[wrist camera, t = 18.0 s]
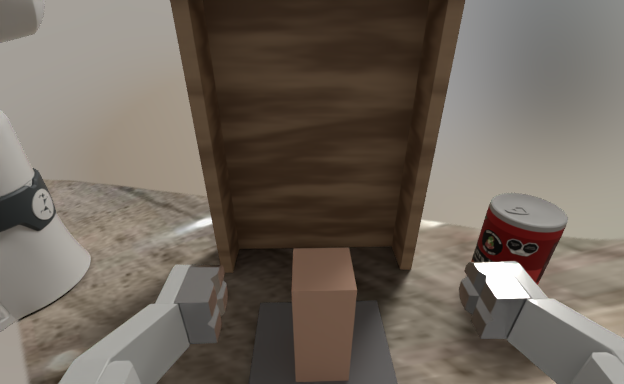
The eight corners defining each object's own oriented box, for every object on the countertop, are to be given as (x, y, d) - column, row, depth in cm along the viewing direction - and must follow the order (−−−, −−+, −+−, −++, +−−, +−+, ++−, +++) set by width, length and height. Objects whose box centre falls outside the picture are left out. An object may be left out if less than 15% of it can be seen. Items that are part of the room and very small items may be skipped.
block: (348, 380, 31) (357, 290, 25) (295, 381, 31) (291, 291, 25) (342, 334, 35) (348, 247, 29) (296, 335, 35) (293, 248, 29)
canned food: (457, 263, 46) (476, 196, 40) (504, 253, 48) (529, 188, 42) (497, 305, 39) (526, 232, 34) (549, 292, 41) (586, 221, 36)
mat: (408, 438, 27) (410, 433, 27) (241, 443, 27) (240, 438, 27) (376, 305, 39) (376, 300, 39) (260, 307, 39) (260, 302, 39)
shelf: (425, 304, 39) (528, -111, 21) (211, 308, 39) (114, -113, 20) (398, 238, 51) (448, -70, 32) (231, 240, 50) (182, -70, 31)
